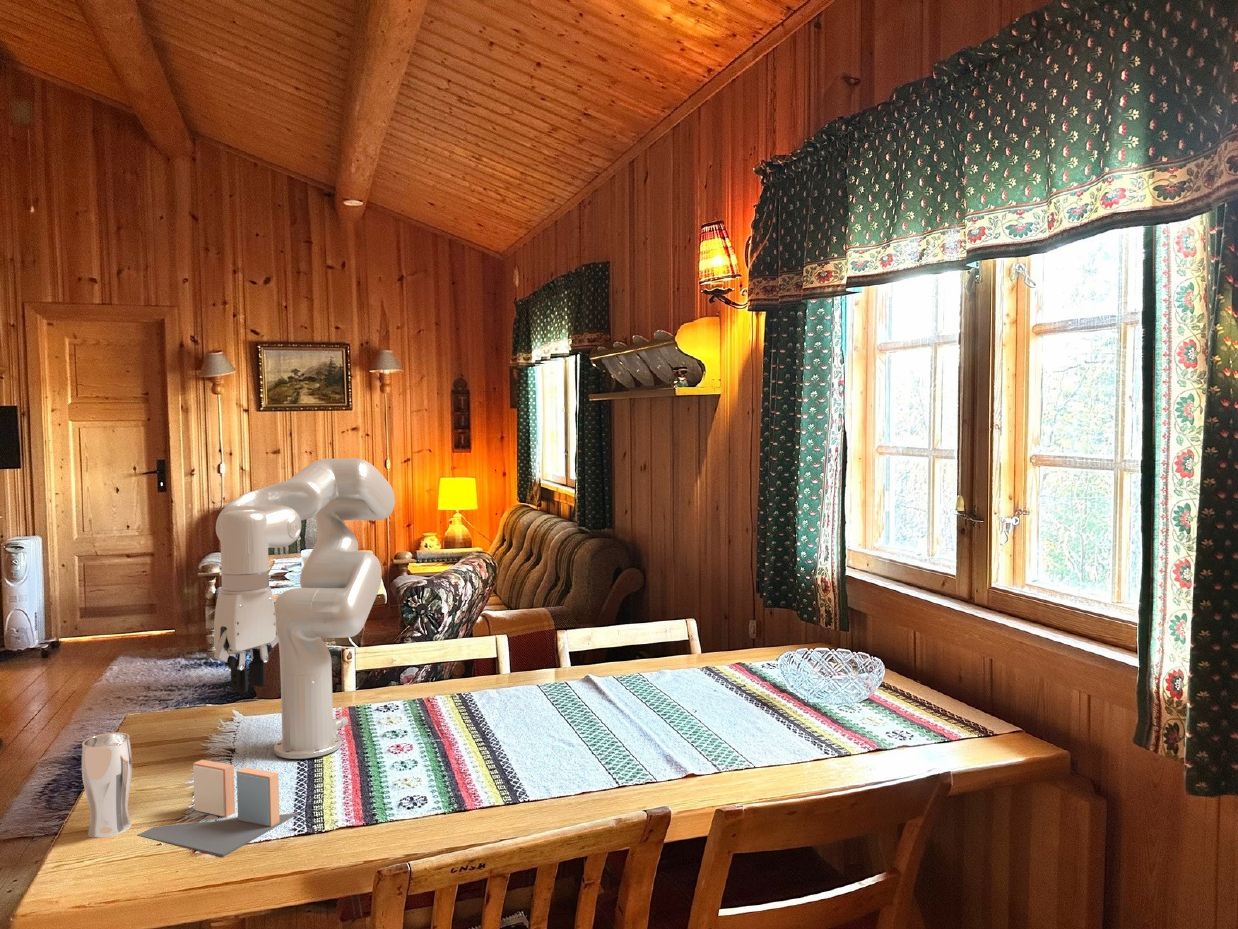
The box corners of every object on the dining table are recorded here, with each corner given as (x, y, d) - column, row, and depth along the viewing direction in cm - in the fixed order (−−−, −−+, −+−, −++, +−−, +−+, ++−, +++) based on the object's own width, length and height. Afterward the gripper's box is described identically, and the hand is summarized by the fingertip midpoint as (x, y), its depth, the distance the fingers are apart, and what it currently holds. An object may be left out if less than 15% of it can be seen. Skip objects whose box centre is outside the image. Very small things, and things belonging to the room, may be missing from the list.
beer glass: (79, 845, 142) (74, 749, 141) (92, 825, 149) (87, 734, 148) (129, 839, 144) (125, 745, 143) (139, 820, 151) (135, 729, 150)
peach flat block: (246, 815, 151) (245, 767, 150) (279, 822, 148) (278, 773, 148) (236, 820, 149) (235, 771, 148) (269, 827, 146) (268, 777, 146)
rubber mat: (228, 796, 160) (227, 792, 160) (309, 812, 153) (309, 808, 153) (137, 838, 144) (137, 835, 144) (223, 858, 137) (223, 854, 137)
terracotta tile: (203, 807, 154) (202, 759, 154) (235, 813, 152) (233, 765, 151) (193, 811, 153) (191, 764, 152) (225, 818, 150) (223, 769, 149)
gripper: (264, 574, 167) (267, 674, 168) (189, 589, 152) (193, 699, 153) (297, 576, 164) (300, 678, 165) (223, 591, 149) (227, 704, 150)
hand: (248, 687), depth 159 cm, fingers open, 3 cm apart
